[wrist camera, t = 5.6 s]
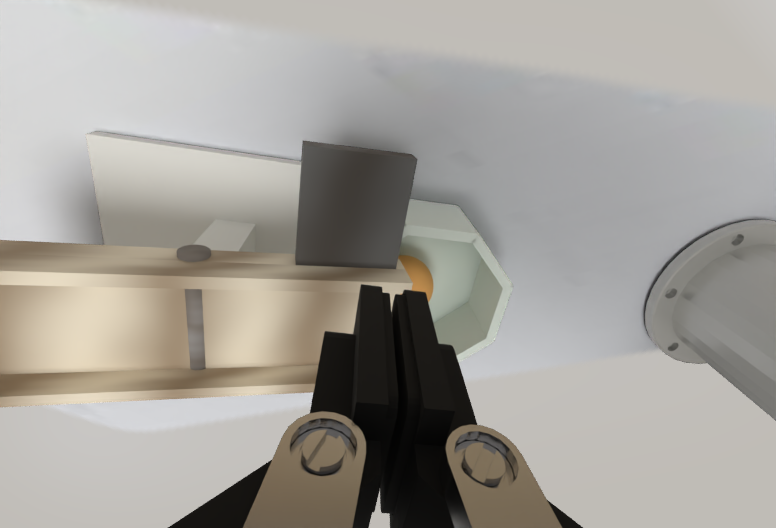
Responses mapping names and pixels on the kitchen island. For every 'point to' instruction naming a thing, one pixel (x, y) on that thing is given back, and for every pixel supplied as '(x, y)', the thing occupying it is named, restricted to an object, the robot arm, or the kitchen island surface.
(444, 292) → the pale green bowl
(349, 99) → the kitchen island surface
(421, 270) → the ball
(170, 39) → the kitchen island surface
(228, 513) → the robot arm
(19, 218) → the kitchen island surface
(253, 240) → the lever stand
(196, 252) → the lever
